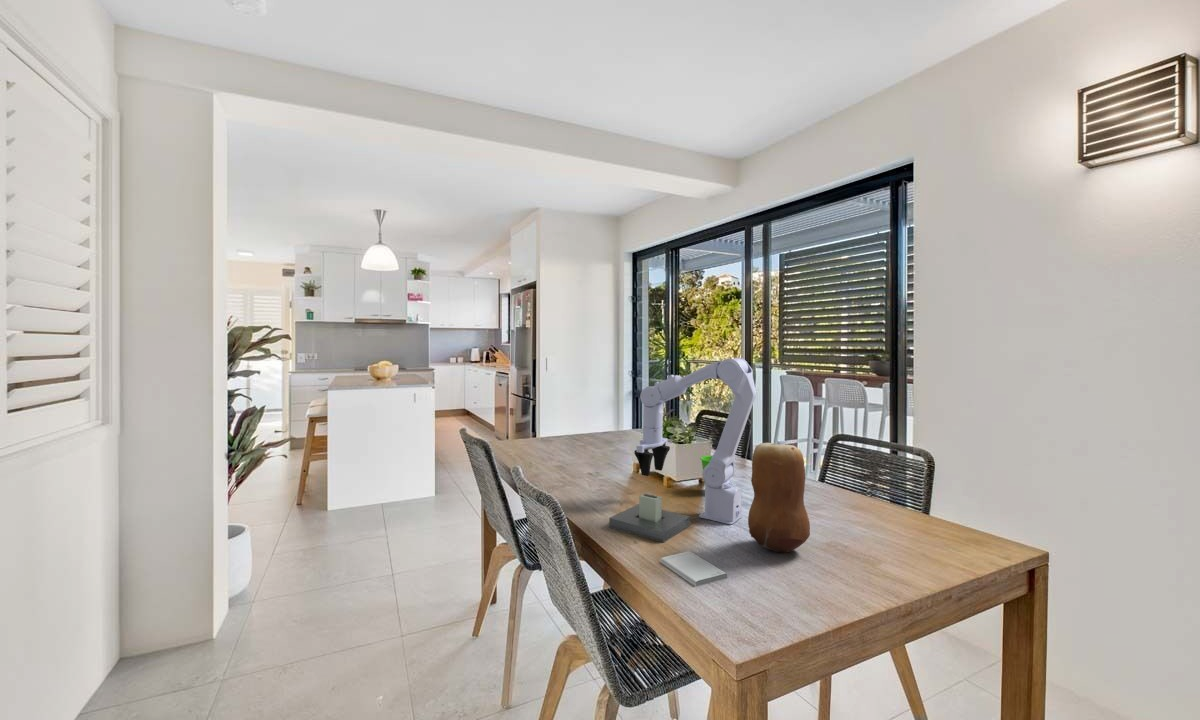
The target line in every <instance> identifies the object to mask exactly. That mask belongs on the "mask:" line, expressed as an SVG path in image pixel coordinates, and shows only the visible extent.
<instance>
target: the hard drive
mask: <svg viewBox="0 0 1200 720" xmlns="http://www.w3.org/2000/svg"><path fill="white" fill-rule="evenodd" d="M659 561H660V563H661V564H662V565H664V566H665V567H667V568H668V569H670V570H671V571H673V572H674V573H676V575H678V576H680V577H681V578H683V579H684V580H686V581H687V582H688V583H690V584H691V585H693V586H694V587H700V586H702V585H703V586H704V585H706V584H711V583H714V582H718V581H721V580H725V579H728V573H727V572H724V571H723V570H722V569H719V568H718V567H716V566H715V565H713V564H711V563H710V562H708V561H706V560H705V559H704V558H702V557H700V556H698V555H697V554H695V553H693V552H692V551H690V550H689V551H684V552H680V553H675V554H672V555H667V556H663V557H661V558H660V560H659Z"/></svg>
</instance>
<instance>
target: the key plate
mask: <svg viewBox="0 0 1200 720" xmlns="http://www.w3.org/2000/svg"><path fill="white" fill-rule="evenodd" d="M608 521H609V522H608V523H609V524H608V525H609V526H608V527H609V528H610V529H614V530H617V531H620V532H624V533H629V534H631V535H635V536H638V537H642V538H646V539H649V540H653V541H657V542H658V543H662V544H663V543H665V542H667V541H669V540H670V539H671V538H673V537H675V536H676V535H678V534H680V533H681V532H682V531H684V530H686V529H687V528H689V527H690V526H691V516H689V515H686V514H682V513H677V512H673V511H669V510H664V509H662V515H661V520H660V521H658V522H653V521H649V520H645V519H641V518H639V503H638V504H635V505H634V506H631V507H629V508H627V509H625V510H623V511H620V512H619V513H617V514H615V515H613V516H610V517H609V519H608Z"/></svg>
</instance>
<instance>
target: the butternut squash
mask: <svg viewBox="0 0 1200 720" xmlns="http://www.w3.org/2000/svg"><path fill="white" fill-rule="evenodd" d="M805 468H806V467H805V460H804V455H803V453H802V452H801V450H800V449H799V448H798V447H797V446H795V445H791V444H781V443H780V444H779V443H771V442H762V443H760V444H757V445H756V446H755V448H754V450H753V453H752V461H751V479H750V481H751V486H752V488H753V489H752V490H753V499H752V502H751V506H750V507H749V511H748V517H747V522H748V523H747V525H748V531H749V534H750V537H751V538H752V539H753V540H754V541H756V543H757V544H758V545H759V546H761V547H763V548H765V549H768V550H770V551H775V552H776V553H780V554H785V553H791V552H792V551H794V550H796V549H798V548H800V546H802V545H803V544H805V543H806V542H807V541H808V538H809V537H810V536H811V523H810V518H809V515H808V512H807V510H806V507H805V500H804V499H805V498H804V495H805V486H806V469H805Z"/></svg>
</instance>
